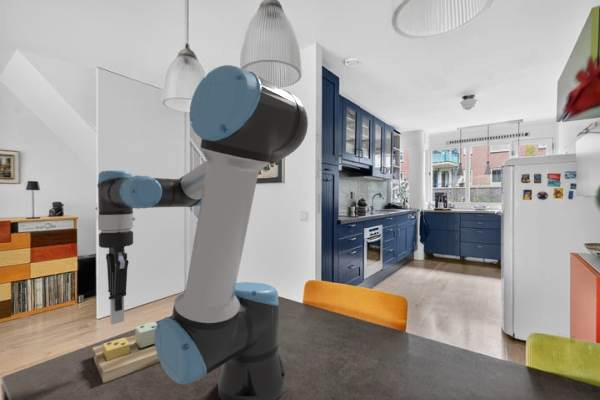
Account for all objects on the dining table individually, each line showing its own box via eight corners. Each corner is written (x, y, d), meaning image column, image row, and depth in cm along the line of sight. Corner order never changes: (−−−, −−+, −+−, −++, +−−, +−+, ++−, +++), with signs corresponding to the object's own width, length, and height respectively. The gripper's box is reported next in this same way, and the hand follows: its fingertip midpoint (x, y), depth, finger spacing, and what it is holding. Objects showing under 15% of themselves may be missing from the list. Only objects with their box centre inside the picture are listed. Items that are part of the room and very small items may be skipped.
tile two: (160, 341, 79) (160, 326, 79) (140, 347, 76) (140, 332, 76) (154, 335, 83) (154, 321, 83) (135, 341, 80) (135, 326, 80)
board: (199, 347, 82) (199, 338, 82) (103, 383, 66) (103, 372, 66) (179, 329, 93) (179, 322, 93) (92, 356, 77) (92, 347, 77)
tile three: (129, 359, 74) (129, 343, 74) (106, 367, 71) (106, 350, 71) (125, 351, 78) (125, 336, 78) (103, 358, 74) (103, 343, 74)
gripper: (139, 231, 72) (140, 325, 72) (126, 228, 81) (127, 311, 81) (103, 233, 67) (104, 335, 67) (94, 230, 76) (95, 319, 76)
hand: (117, 321), depth 74 cm, fingers closed
